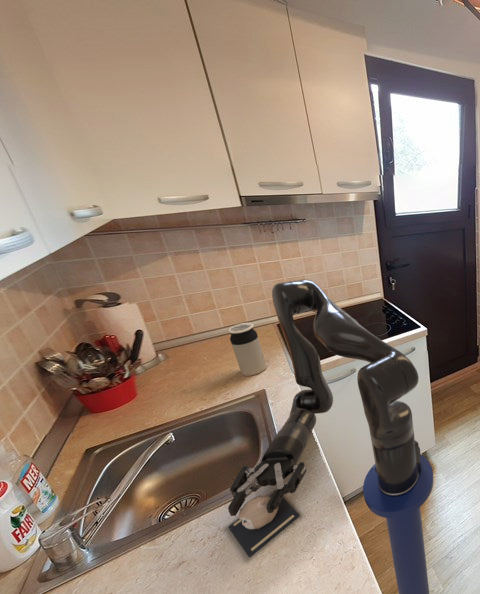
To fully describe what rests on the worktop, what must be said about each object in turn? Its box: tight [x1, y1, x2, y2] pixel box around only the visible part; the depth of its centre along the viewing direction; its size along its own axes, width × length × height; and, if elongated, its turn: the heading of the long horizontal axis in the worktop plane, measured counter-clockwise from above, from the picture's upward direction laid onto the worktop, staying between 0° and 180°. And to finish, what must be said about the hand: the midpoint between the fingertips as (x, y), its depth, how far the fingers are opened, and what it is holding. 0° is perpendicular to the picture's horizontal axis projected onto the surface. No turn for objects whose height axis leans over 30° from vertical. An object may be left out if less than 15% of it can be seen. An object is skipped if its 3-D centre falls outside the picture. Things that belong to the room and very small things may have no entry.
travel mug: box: [227, 322, 268, 377], centre depth 119 cm, size 8×8×18 cm
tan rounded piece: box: [238, 494, 278, 529], centre depth 69 cm, size 7×6×8 cm
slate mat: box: [228, 493, 300, 558], centre depth 71 cm, size 10×10×1 cm
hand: (250, 511), depth 66 cm, fingers open, 6 cm apart
